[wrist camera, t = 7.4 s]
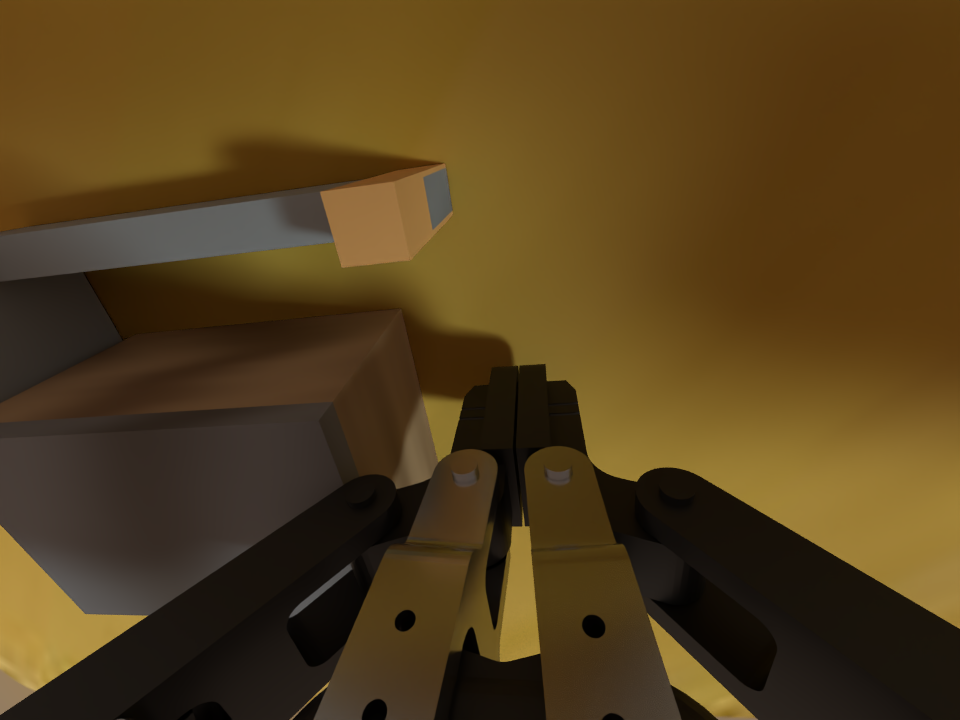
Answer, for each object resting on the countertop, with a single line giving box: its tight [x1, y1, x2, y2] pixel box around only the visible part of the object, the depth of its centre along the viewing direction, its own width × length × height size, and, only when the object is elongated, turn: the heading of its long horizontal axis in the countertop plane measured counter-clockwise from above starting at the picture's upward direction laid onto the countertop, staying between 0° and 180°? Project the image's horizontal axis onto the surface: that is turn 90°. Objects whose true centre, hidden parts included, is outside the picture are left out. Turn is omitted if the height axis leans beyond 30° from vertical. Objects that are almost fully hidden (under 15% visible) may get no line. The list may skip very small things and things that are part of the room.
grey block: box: [0, 308, 438, 618], centre depth 12 cm, size 9×6×6 cm, turn 98°
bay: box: [0, 163, 453, 403], centre depth 12 cm, size 12×12×4 cm
